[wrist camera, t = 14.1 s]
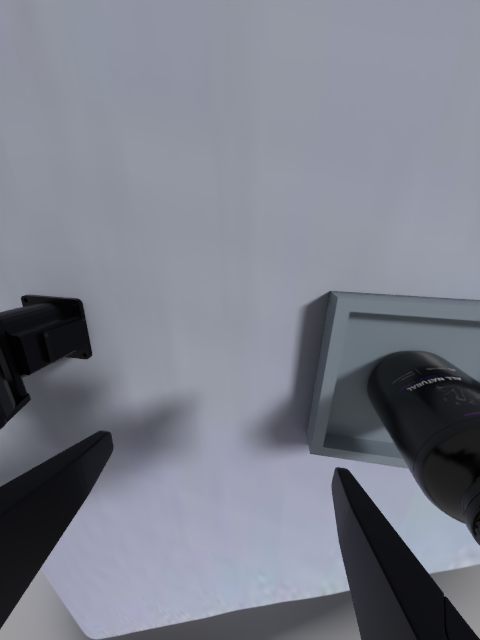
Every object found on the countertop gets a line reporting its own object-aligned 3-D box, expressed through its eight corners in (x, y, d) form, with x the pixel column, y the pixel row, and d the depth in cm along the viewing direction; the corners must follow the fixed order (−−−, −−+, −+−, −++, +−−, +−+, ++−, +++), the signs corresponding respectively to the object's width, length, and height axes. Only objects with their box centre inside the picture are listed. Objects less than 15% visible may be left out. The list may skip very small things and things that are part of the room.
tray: (306, 433, 24) (310, 453, 21) (330, 290, 19) (338, 297, 17) (466, 455, 22) (490, 480, 19) (537, 303, 17) (580, 313, 15)
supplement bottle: (404, 332, 18) (616, 472, 7) (471, 376, 19) (776, 579, 7) (346, 389, 21) (434, 565, 9) (406, 428, 21) (562, 643, 10)
